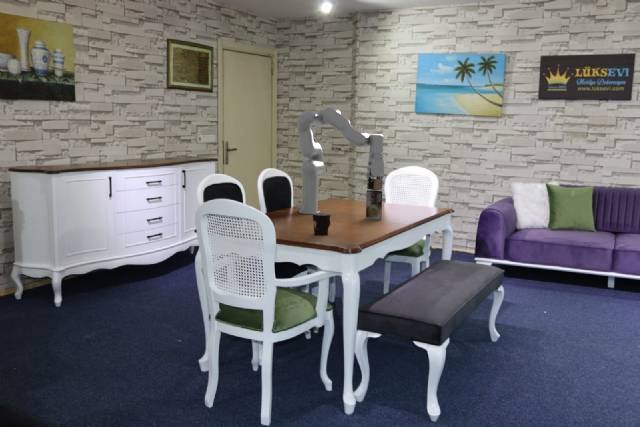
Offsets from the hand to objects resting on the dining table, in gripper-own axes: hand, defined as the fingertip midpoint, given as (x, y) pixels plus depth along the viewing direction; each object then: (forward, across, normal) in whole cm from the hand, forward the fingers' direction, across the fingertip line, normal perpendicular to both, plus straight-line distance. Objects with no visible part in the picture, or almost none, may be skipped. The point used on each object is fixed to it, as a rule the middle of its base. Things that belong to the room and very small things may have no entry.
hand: (374, 187), depth 338 cm
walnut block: (+1, 0, 0) cm, 1 cm away
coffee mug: (+18, -61, -18) cm, 66 cm away
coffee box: (+18, 0, 0) cm, 18 cm away
